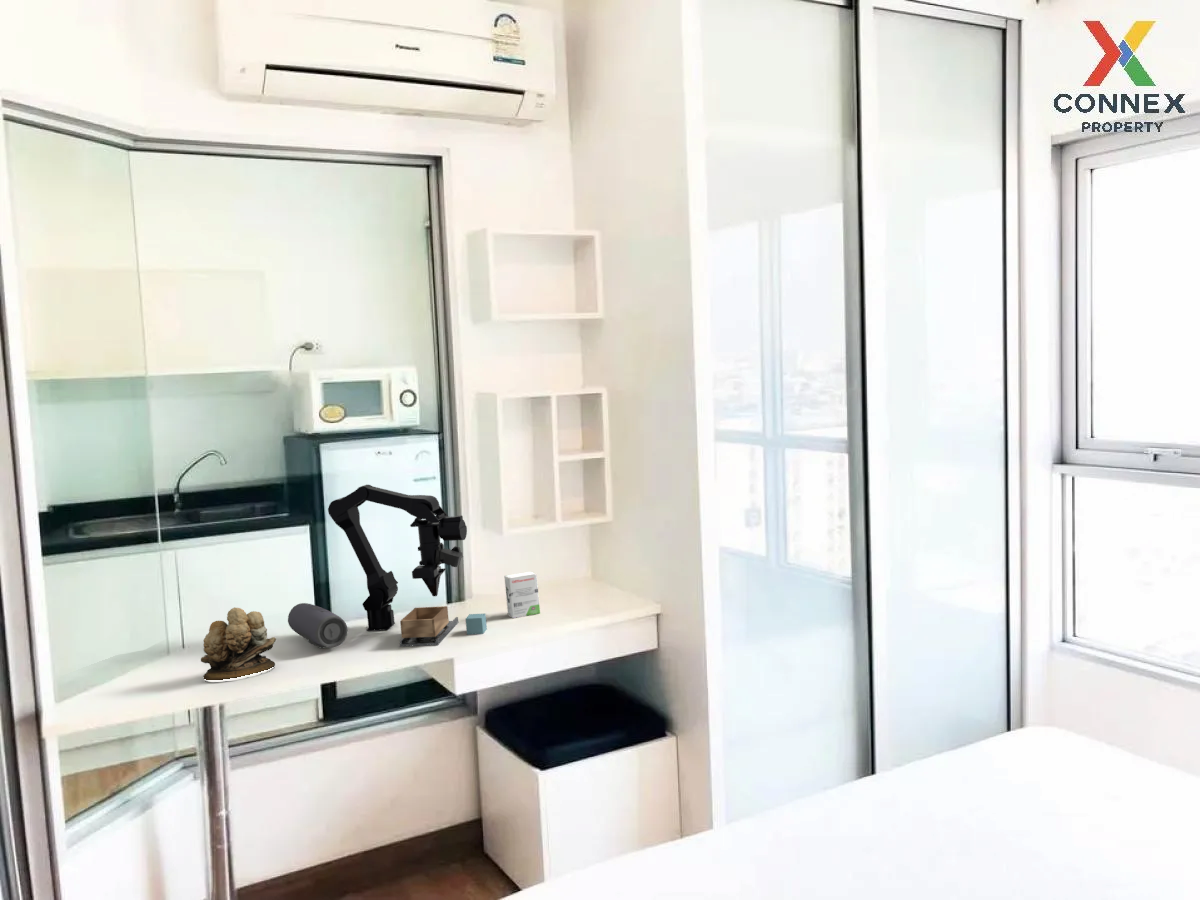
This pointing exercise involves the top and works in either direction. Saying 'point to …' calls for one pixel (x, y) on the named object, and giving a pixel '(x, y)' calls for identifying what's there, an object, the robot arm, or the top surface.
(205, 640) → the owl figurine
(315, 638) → the bluetooth speaker
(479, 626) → the part block
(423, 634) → the wooden drawer
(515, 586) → the ink box
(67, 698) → the top surface
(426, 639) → the track
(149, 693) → the top surface
